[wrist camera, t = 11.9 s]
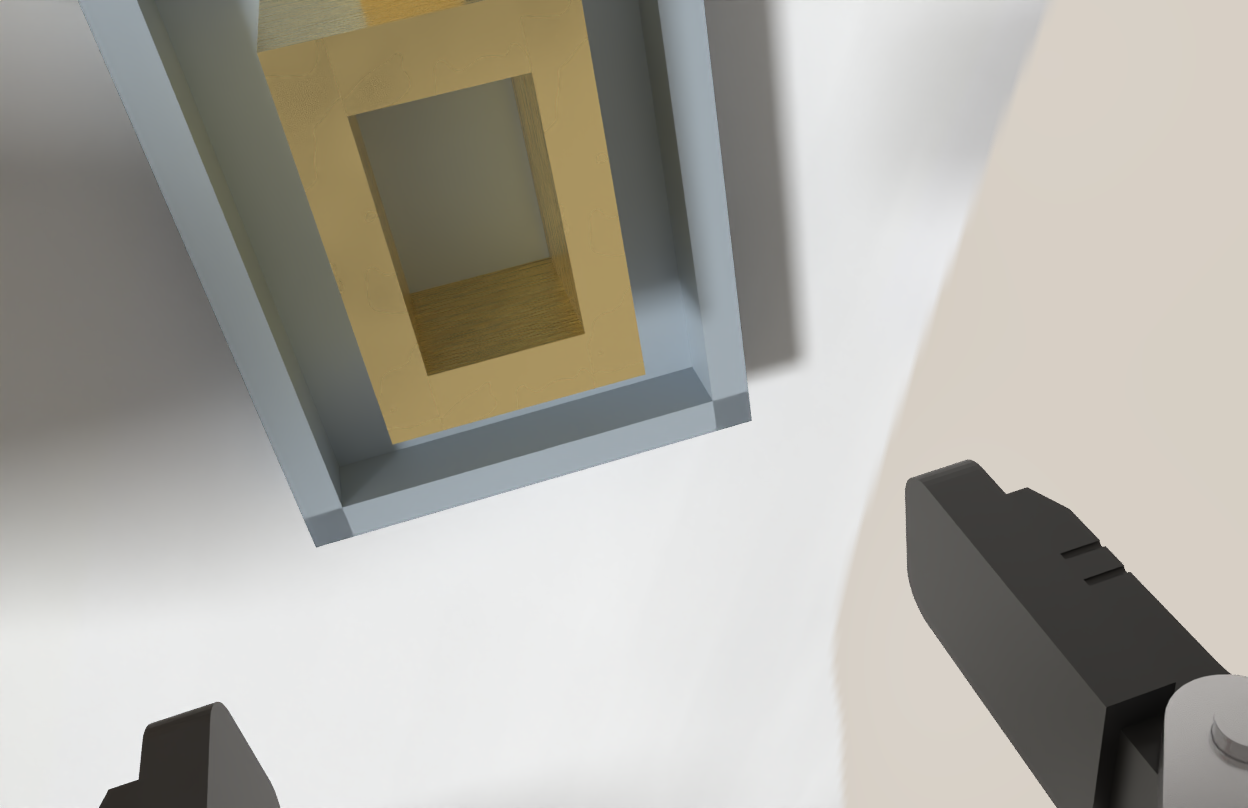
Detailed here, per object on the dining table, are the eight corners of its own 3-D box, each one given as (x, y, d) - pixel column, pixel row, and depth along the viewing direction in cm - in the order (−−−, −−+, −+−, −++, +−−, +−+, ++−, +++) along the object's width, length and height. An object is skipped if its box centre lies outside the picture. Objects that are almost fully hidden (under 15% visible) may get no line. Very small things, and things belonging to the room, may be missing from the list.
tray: (722, 375, 32) (751, 420, 30) (313, 492, 31) (316, 547, 29) (634, -314, 22) (668, -312, 21) (27, -189, 21) (2, -174, 19)
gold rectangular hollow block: (604, 296, 29) (645, 374, 26) (379, 356, 28) (392, 444, 25) (523, -140, 23) (563, -107, 20) (233, -77, 22) (226, -33, 19)
